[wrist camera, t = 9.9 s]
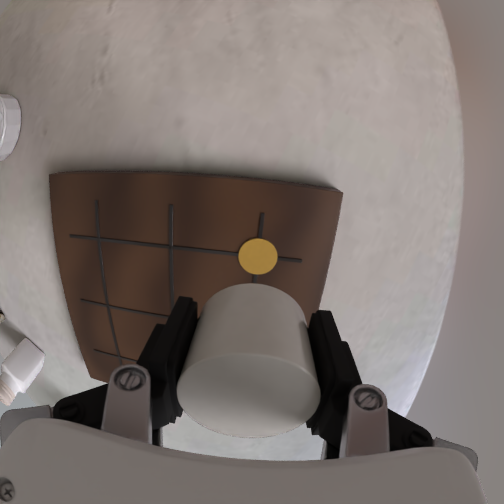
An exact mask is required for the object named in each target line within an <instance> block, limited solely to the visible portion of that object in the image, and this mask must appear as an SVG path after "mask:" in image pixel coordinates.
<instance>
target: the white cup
mask: <svg viewBox="0 0 504 504" xmlns="http://www.w3.org/2000/svg"><path fill="white" fill-rule="evenodd" d="M20 127H21V109H20V106H19V103H18V101H17V99H16V98H14V97H13V96H11V95H7V94H0V161H2V160H5V159H6V158H7V157H8V156H9V155H10V154H11V153H12V151H13V149H14V147H15V145H16V143H17V140H18V137H19V132H20Z"/></svg>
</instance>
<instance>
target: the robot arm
mask: <svg viewBox="0 0 504 504" xmlns="http://www.w3.org/2000/svg"><path fill="white" fill-rule="evenodd" d="M197 320H198V303H197V302H196V301H193V298H192V297H184V296H179V297H178V299H177V301H176V303H175V305H174V307H173V309H172V311H171V314H170V316H169V318H168V320H167V322H166V324H159V323H158V324H156V326H155V327H154V329H153V331H152V333H151V335H150V337H149V339H148V341H147V343H146V345H145V347H144V349H143V351H142V352H141V354H140V356H139V358H138V360H137V362H136V364H124V365H120V366H119V367H117V368H115V369H114V370H113V372H112V373H111V375H110V379H109V383H108V384H105V385H102V386H99V387H96V388H93V389H90V390H87V391H84V392H81V393H78V394H75V395H72V396H68V397H65V398H63V399H61V400H59V401H58V402H57V403H56V404H55V406H54V407H50V406H49V405H44V406H37V407H30V408H21V409H12V410H8V411H6V412H5V413H4V414H3V415H2V417H1V419H0V439H1V449H0V504H488V502H487V499H486V496H485V493H484V490H483V488H482V485H481V482H480V480H479V478H478V476H477V473H476V470H477V464H478V457H477V455H476V453H475V452H474V451H473V450H472V449H470V448H468V447H464V446H461V445H458V444H455V443H452V442H449V441H446V440H443V439H440V438H437V437H436V438H435V439H432V437H431V434H430V433H429V432H428V431H427V430H426V429H424V428H423V427H421V426H419V425H417V424H415V423H413V422H411V421H410V420H408V419H406V418H404V417H402V416H401V415H399V414H397V413H395V412H393V411H392V410H390V409H388V408H387V399H386V396H385V394H384V393H383V392H382V391H381V390H380V389H379V388H377V387H375V386H373V385H369V384H362V381H361V378H360V375H359V373H358V370H357V367H356V364H355V361H354V359H353V356H352V353H351V350H350V348H349V345H348V343H347V342H346V341H342V340H341V338H340V335H339V332H338V329H337V326H336V324H335V321H334V318H333V315H332V313H331V311H326V310H317V312H316V313H312V315H311V319H310V322H309V326H308V332H309V337H310V341H311V346H312V351H313V355H314V360H315V365H316V370H317V375H318V380H319V385H320V390H321V399H320V403H319V405H318V407H317V410H316V412H315V413H314V414H313V415H312V417H311V418H310V419H309V420H307V421H306V425H307V428H311V432H312V435H319V436H320V437H321V438H323V439H324V442H323V448H322V454H321V460H308V461H267V460H248V459H235V458H225V457H217V456H209V455H202V454H196V453H190V452H184V451H179V450H173V449H169V448H164V447H163V436H162V427H163V426H165V425H167V424H169V422H170V423H175V420H176V416H177V417H181V415H182V412H183V409H182V407H181V406H180V404H179V402H178V398H177V391H176V386H177V381H178V378H179V375H180V372H181V369H182V366H183V363H184V359H185V356H186V353H187V350H188V347H189V344H190V341H191V338H192V335H193V332H194V329H195V326H196V323H197Z"/></svg>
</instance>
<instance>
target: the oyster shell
mask: <svg viewBox="0 0 504 504" xmlns="http://www.w3.org/2000/svg"><path fill="white" fill-rule="evenodd" d="M4 320H5V317H4V315H3V314H0V324H1V323H2V322H3V321H4Z"/></svg>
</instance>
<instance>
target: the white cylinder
mask: <svg viewBox="0 0 504 504" xmlns="http://www.w3.org/2000/svg"><path fill="white" fill-rule="evenodd" d="M176 391H177V398H178V402H179V404H180V406H181V407H182V409H183V410H184V412H185V413H186V414H187V415H188V416H189V417H190V418H191V419H193V420H194V421H195V422H197V423H198V424H200V425H202V426H204V427H205V428H208V429H210V430H212V431H215V432H218V433H221V434H224V435H229V436H234V437H242V438H261V437H269V436H275V435H279V434H283V433H285V432H288V431H291V430H293V429H295V428H297V427H299V426H300V425H302V424H303V423H305V422H306V421H307V420H309V419H310V418H311V417H312V415H313V414H314V413H315V412H316V410H317V407H318V405H319V403H320V399H321V390H320V385H319V380H318V375H317V370H316V365H315V360H314V355H313V351H312V346H311V341H310V337H309V332H308V327H307V323H306V318H305V316H304V313H303V311H302V309H301V307H300V306H299V305H298V303H297V302H296V301H295V300H294V299H293V298H292V297H290V296H289V295H288V294H286V293H285V292H283V291H281V290H279V289H277V288H274V287H271V286H268V285H263V284H254V283H248V284H239V285H234V286H231V287H228V288H225V289H223V290H221V291H219V292H218V293H216V294H214V295H213V296H212V297H211V298H210V299H209V300H208V301H207V302H206V303H205V305H204V306H203V308H202V309H201V312H200V314H199V317H198V320H197V323H196V326H195V329H194V332H193V335H192V338H191V341H190V344H189V347H188V350H187V353H186V356H185V359H184V363H183V366H182V369H181V372H180V375H179V378H178V381H177V386H176Z"/></svg>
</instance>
